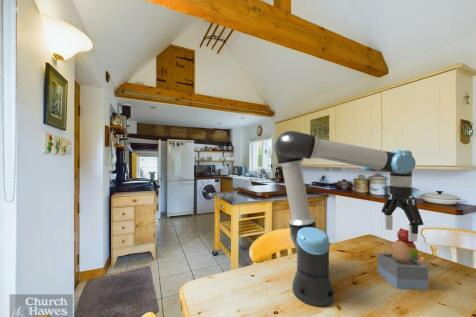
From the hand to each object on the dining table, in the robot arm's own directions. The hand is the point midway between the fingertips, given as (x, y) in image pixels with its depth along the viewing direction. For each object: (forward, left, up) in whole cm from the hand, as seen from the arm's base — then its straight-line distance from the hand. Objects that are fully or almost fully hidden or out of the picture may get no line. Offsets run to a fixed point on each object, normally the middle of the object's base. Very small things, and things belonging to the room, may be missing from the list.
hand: (399, 234), depth 86 cm
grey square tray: (0, 0, -20) cm, 20 cm away
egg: (0, 0, -12) cm, 12 cm away
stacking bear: (+12, +13, -20) cm, 27 cm away
